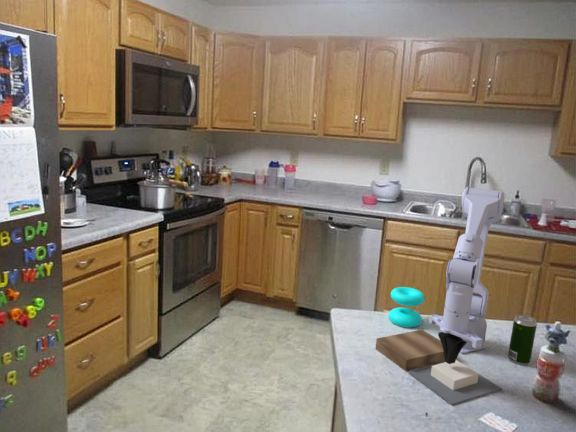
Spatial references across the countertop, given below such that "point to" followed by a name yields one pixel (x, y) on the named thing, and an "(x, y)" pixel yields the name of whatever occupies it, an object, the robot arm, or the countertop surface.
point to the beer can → (522, 339)
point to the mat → (459, 394)
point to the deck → (411, 349)
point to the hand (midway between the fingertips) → (449, 362)
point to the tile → (454, 375)
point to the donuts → (406, 315)
